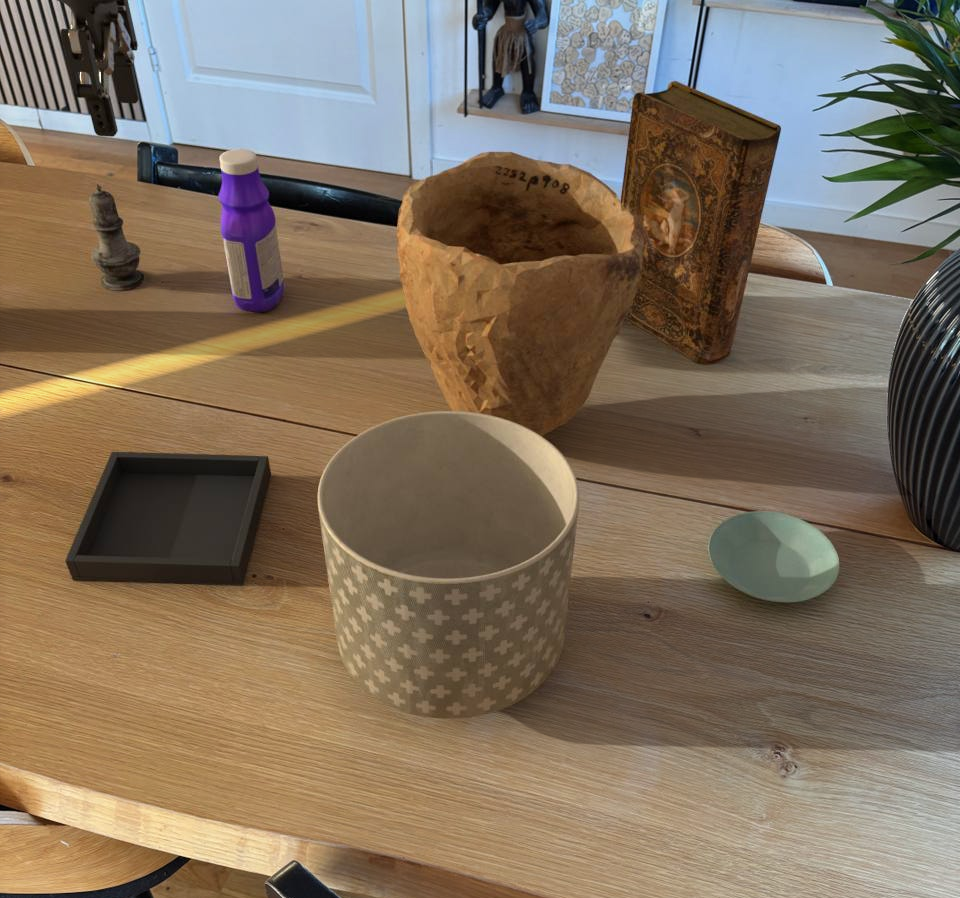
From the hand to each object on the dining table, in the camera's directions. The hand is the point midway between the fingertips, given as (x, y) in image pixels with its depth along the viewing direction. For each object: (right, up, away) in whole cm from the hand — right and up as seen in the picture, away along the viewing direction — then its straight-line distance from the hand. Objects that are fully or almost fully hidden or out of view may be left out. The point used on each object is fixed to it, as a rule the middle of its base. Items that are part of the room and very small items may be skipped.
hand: (118, 118), depth 108 cm
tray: (+9, -44, -10) cm, 46 cm away
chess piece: (-6, -10, +20) cm, 23 cm away
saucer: (+65, -49, -13) cm, 83 cm away
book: (+61, -18, +14) cm, 65 cm away
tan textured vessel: (+42, -33, 0) cm, 54 cm away
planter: (+36, -57, -20) cm, 70 cm away
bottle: (+11, -14, +17) cm, 25 cm away
